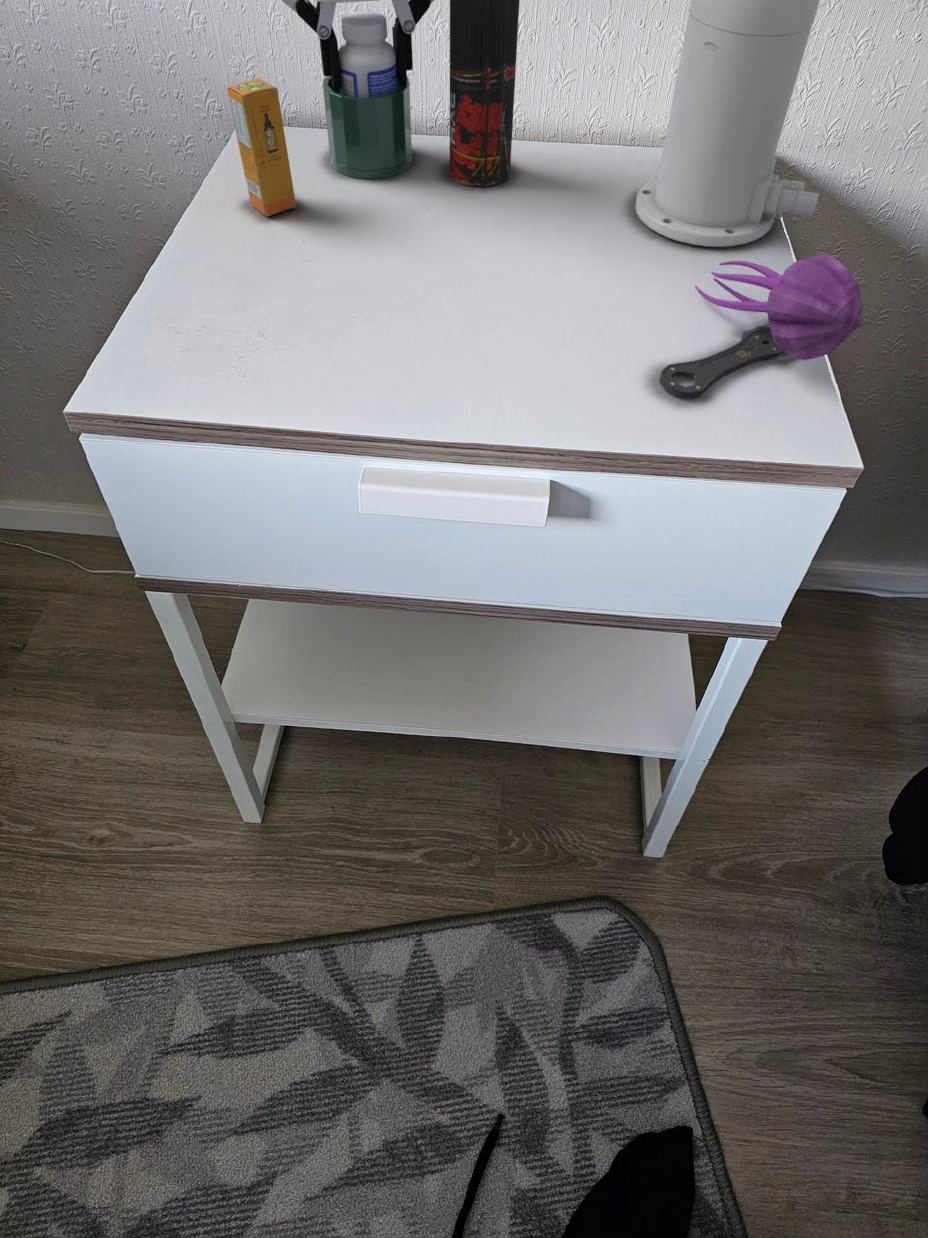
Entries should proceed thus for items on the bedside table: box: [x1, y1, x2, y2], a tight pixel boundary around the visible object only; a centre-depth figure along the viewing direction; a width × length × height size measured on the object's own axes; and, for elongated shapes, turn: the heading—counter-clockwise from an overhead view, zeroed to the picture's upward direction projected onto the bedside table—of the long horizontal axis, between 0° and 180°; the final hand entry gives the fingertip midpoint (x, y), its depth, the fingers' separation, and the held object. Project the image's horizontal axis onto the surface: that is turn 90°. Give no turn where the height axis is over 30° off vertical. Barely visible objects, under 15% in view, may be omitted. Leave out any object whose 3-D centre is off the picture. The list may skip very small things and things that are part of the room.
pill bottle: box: [338, 10, 398, 97], centre depth 78 cm, size 5×5×10 cm
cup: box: [322, 76, 413, 180], centre depth 81 cm, size 8×8×7 cm
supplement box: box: [226, 77, 297, 218], centre depth 74 cm, size 3×3×10 cm
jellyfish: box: [694, 253, 863, 361], centre depth 63 cm, size 7×7×15 cm
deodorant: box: [449, 0, 520, 188], centre depth 77 cm, size 6×6×15 cm
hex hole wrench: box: [659, 323, 792, 400], centre depth 65 cm, size 4×20×1 cm, turn 125°
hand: (368, 79), depth 78 cm, fingers closed on pill bottle, 5 cm apart
